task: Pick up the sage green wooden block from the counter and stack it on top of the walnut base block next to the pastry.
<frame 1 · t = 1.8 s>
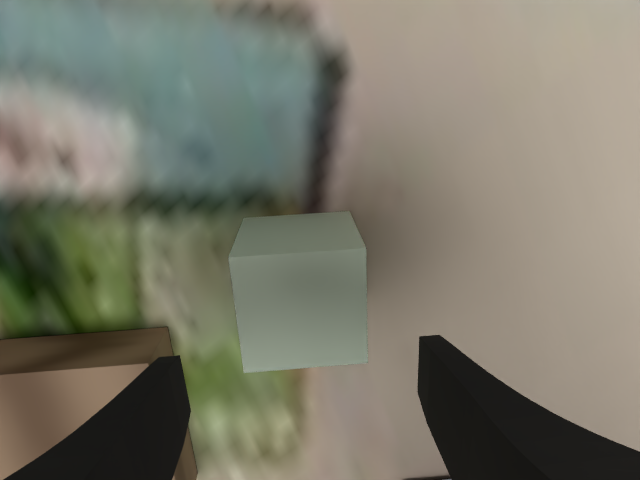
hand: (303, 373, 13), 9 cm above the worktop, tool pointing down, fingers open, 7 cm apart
sage green block: (300, 262, 21), on the worktop
walnut base block: (91, 413, 23), on the worktop
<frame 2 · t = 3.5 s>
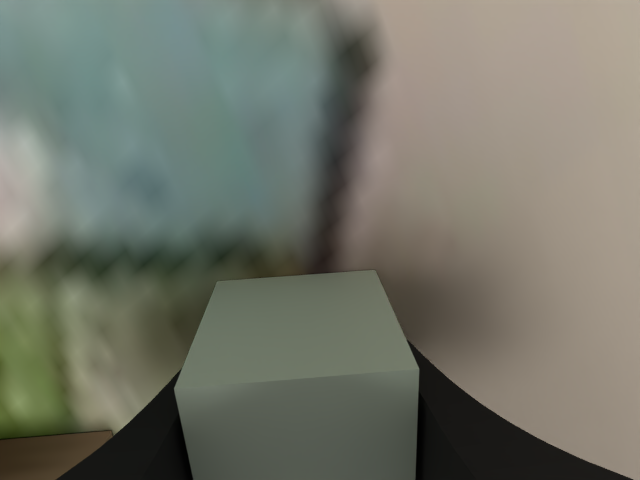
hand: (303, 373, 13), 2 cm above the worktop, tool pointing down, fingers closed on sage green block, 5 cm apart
sage green block: (302, 342, 14), on the worktop, touching gripper
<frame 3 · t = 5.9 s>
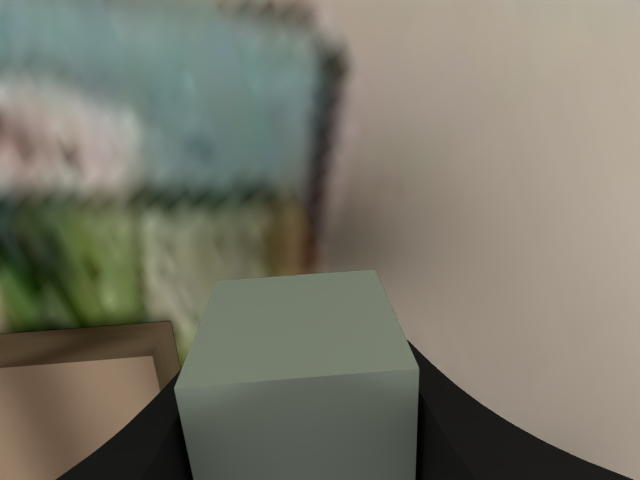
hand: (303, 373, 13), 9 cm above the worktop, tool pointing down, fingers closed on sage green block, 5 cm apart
sage green block: (302, 342, 14), point 7 cm above the worktop, touching gripper
walnut base block: (95, 406, 23), on the worktop
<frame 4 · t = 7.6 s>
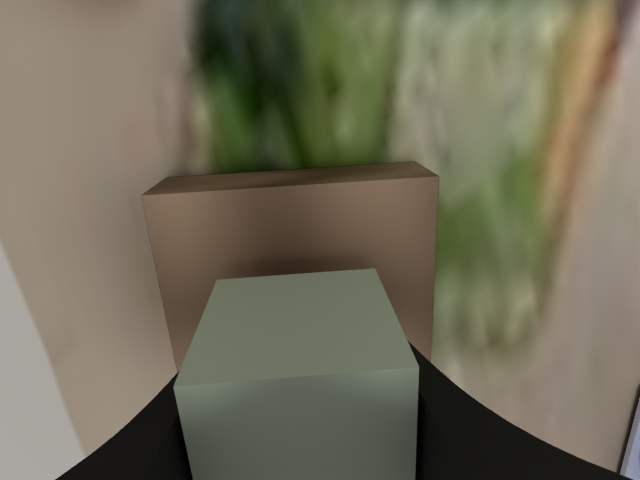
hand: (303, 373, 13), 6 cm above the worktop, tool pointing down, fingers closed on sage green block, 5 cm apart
sage green block: (301, 341, 14), point 5 cm above the worktop, touching gripper
walnut base block: (300, 281, 18), on the worktop
when the fingers open (6 cm above the worktop, at t = 8.7 s): sage green block drops 1 cm, resting on walnut base block.
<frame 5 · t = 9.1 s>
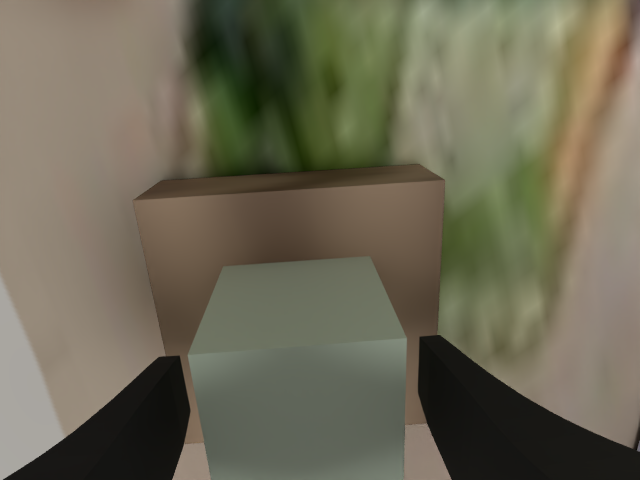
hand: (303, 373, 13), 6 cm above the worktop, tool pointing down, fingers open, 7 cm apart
sage green block: (301, 324, 15), point 3 cm above the worktop, touching walnut base block
walnut base block: (300, 288, 18), on the worktop
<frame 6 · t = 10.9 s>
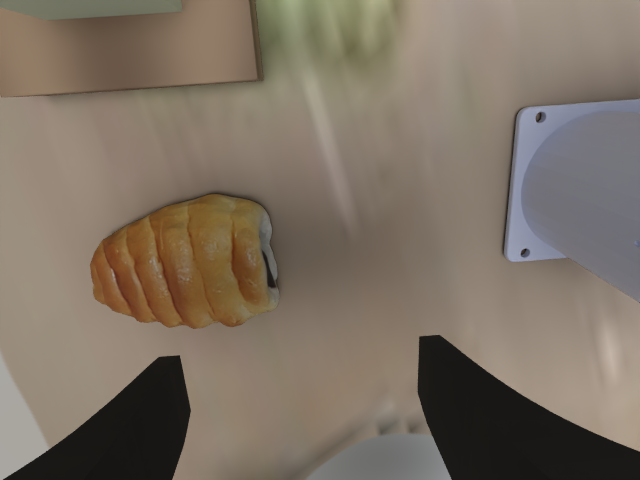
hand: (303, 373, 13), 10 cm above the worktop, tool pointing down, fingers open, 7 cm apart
pastry: (205, 256, 23), on the worktop
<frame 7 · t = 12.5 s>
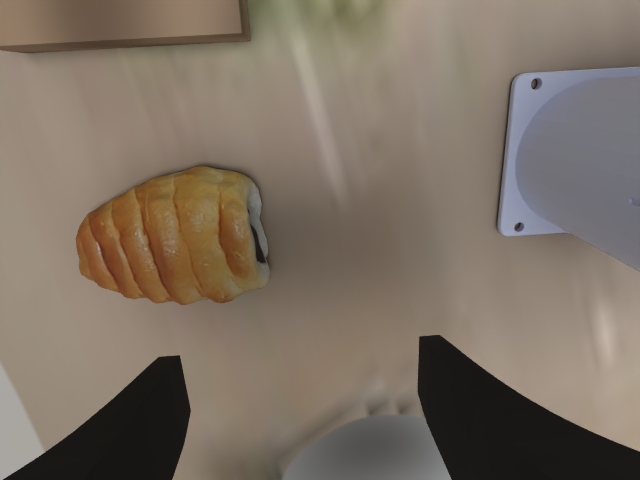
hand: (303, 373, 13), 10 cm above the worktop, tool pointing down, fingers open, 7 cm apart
pastry: (194, 233, 22), on the worktop
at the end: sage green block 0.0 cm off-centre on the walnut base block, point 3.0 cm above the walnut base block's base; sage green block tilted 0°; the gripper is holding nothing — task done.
